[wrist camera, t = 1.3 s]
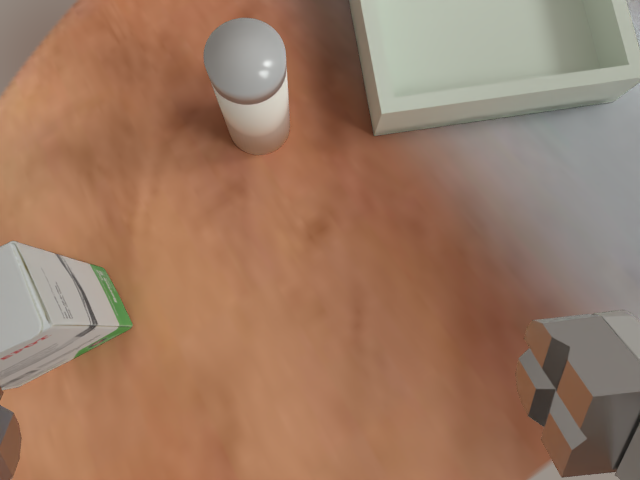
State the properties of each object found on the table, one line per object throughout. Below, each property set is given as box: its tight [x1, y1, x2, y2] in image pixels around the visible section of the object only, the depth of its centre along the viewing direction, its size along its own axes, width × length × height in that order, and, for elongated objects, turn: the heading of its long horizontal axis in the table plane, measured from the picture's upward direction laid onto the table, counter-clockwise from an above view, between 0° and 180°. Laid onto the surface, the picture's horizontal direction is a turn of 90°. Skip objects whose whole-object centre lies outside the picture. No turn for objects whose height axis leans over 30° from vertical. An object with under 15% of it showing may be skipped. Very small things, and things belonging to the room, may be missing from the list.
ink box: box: [0, 241, 133, 390], centre depth 31 cm, size 9×5×12 cm, turn 117°
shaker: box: [204, 18, 290, 155], centre depth 34 cm, size 4×4×10 cm
